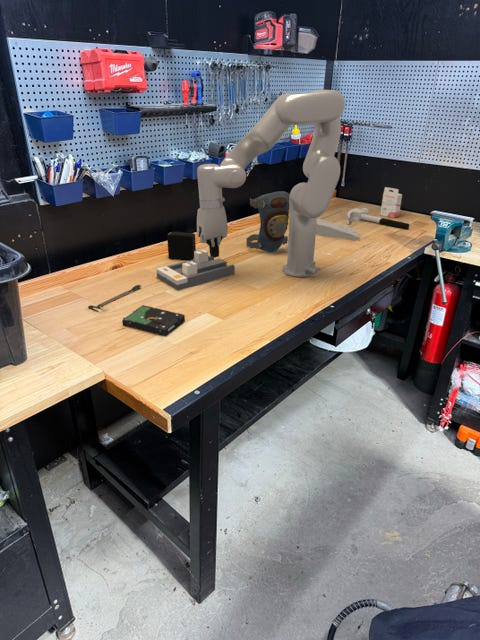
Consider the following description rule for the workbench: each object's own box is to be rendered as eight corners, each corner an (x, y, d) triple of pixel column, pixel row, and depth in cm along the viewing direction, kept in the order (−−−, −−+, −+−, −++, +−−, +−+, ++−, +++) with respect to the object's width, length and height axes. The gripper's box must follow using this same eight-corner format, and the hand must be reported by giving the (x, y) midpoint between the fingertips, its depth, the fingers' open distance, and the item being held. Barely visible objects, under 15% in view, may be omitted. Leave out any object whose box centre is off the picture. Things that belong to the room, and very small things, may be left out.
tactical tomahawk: (101, 317, 136) (101, 314, 135) (87, 309, 139) (86, 306, 138) (152, 293, 151) (152, 290, 150) (137, 286, 154) (137, 283, 154)
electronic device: (193, 261, 177) (192, 236, 172) (168, 259, 178) (166, 234, 174) (196, 257, 180) (195, 233, 176) (172, 255, 182) (170, 231, 177)
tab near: (197, 276, 156) (196, 262, 154) (187, 279, 154) (186, 265, 152) (192, 274, 158) (192, 260, 156) (182, 276, 156) (182, 262, 154)
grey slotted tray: (234, 274, 165) (234, 265, 163) (177, 290, 151) (177, 280, 150) (212, 263, 174) (212, 254, 173) (156, 277, 161) (156, 268, 159)
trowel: (369, 237, 208) (371, 226, 205) (350, 245, 198) (352, 233, 195) (319, 225, 225) (320, 214, 223) (299, 231, 215) (300, 220, 213)
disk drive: (185, 323, 132) (143, 312, 138) (185, 314, 131) (142, 304, 136) (166, 338, 124) (121, 327, 129) (165, 329, 123) (120, 318, 128)
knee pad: (258, 258, 180) (260, 194, 168) (238, 244, 196) (238, 184, 184) (298, 253, 186) (302, 190, 175) (275, 239, 202) (278, 181, 191)
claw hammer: (416, 217, 223) (361, 205, 240) (398, 227, 208) (340, 213, 225) (414, 228, 226) (359, 215, 242) (396, 238, 211) (339, 224, 227)
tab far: (208, 264, 167) (207, 250, 165) (199, 266, 165) (198, 252, 163) (203, 262, 170) (203, 248, 167) (194, 264, 167) (194, 250, 165)
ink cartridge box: (399, 216, 240) (404, 188, 233) (394, 218, 237) (398, 189, 230) (384, 213, 246) (389, 185, 239) (379, 215, 242) (383, 186, 236)
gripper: (222, 197, 157) (225, 248, 166) (185, 205, 149) (190, 258, 158) (235, 201, 152) (238, 253, 160) (198, 209, 144) (203, 264, 152)
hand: (214, 256), depth 159 cm, fingers closed
